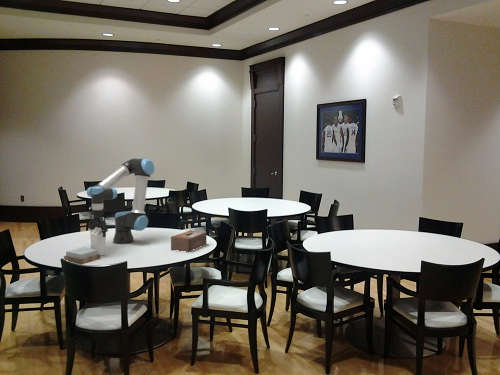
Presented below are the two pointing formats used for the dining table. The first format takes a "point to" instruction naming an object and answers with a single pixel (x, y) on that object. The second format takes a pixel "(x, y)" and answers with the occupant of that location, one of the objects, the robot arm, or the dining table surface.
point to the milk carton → (98, 241)
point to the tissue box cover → (188, 240)
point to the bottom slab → (82, 261)
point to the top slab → (81, 253)
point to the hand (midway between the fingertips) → (98, 240)
